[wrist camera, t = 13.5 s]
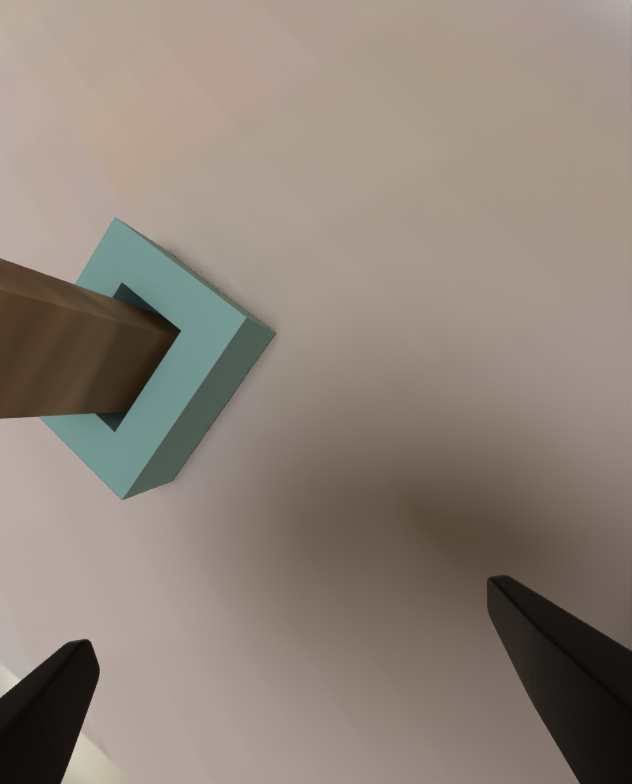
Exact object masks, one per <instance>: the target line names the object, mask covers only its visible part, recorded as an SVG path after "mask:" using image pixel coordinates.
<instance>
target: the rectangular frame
mask: <svg viewBox="0 0 632 784" xmlns="http://www.w3.org/2000/svg"><path fill="white" fill-rule="evenodd" d="M75 285H77V286H80V287H83V288H86V289H89V290H92V291H94V292H97V293H100V294H103V295H106V296H109V297H112V298H114V299H117V300H120V301H123V302H126V303H129V304H132V305H134V306H137V307H140V308H143V309H146V310H149V311H152V312H154V313H157V314H160V315H163V316H164V317H165V318H167V319H168V320H169V321H170V322H171V323H173V324H174V325H175V326H176V327H178V328H179V329H180V330H181V332H180V334H179V335H178V337H177V338H176V340H175V341H174V343H173V344H172V346H171V348H170V349H169V351H168V352H167V354H166V355H165V357H164V358H163V360H162V361H161V363H160V364H159V366H158V367H157V369H156V370H155V372H154V374H153V375H152V377H151V378H150V380H149V381H148V383H147V384H146V386H145V387H144V389H143V390H142V392H141V393H140V395H139V396H138V398H137V399H136V401H135V403H134V404H133V406H132V407H131V409H130V410H129V412H111V413H93V414H75V415H57V416H39V418H40V419H41V420H42V421H43V422H44V423H45V424H46V425H47V426H48V427H49V428H50V429H51V430H52V431H53V432H54V433H55V434H56V435H57V436H58V437H59V438H60V439H61V440H62V441H63V442H64V443H65V444H66V445H67V446H68V447H69V448H70V449H71V450H72V451H73V452H74V453H75V454H76V455H77V456H78V457H79V458H80V459H81V460H82V461H83V462H84V463H85V464H86V465H87V466H88V467H89V468H90V469H91V470H92V471H93V472H94V473H95V474H96V475H97V476H98V477H99V478H100V479H101V480H102V481H103V482H104V483H105V484H106V485H107V486H108V487H109V488H110V489H111V490H112V491H113V492H114V493H115V494H116V495H117V496H118V497H119V498H120V499H121V500H124V499H127V498H129V497H132V496H134V495H137V494H140V493H142V492H145V491H148V490H150V489H153V488H156V487H158V486H161V485H163V484H166V483H169V482H171V481H172V480H173V479H174V478H175V476H176V475H177V473H178V472H179V470H180V469H181V468H182V466H183V465H184V463H185V462H186V460H187V459H188V458H189V456H190V455H191V453H192V452H193V450H194V449H195V448H196V446H197V445H198V443H199V442H200V440H201V439H202V438H203V436H204V435H205V433H206V432H207V430H208V429H209V428H210V426H211V425H212V423H213V422H214V420H215V419H216V418H217V416H218V415H219V413H220V412H221V410H222V409H223V408H224V406H225V405H226V403H227V402H228V400H229V399H230V398H231V396H232V395H233V393H234V392H235V390H236V389H237V388H238V386H239V385H240V383H241V382H242V380H243V379H244V378H245V376H246V375H247V373H248V372H249V370H250V369H251V368H252V366H253V365H254V363H255V362H256V360H257V359H258V358H259V356H260V355H261V353H262V352H263V350H264V349H265V348H266V346H267V345H268V343H269V342H270V340H271V339H272V338H273V336H274V335H275V332H274V331H272V330H271V329H270V328H268V327H267V326H266V325H265V324H263V323H262V322H261V321H259V320H258V319H257V318H255V317H254V316H253V315H251V314H250V313H249V312H247V311H246V310H245V309H243V308H242V307H241V306H239V305H238V304H237V303H236V302H234V301H233V300H232V299H230V298H229V297H228V296H226V295H225V294H224V293H222V292H221V291H220V290H218V289H217V288H216V287H214V286H213V285H212V284H210V283H209V282H208V281H206V280H205V279H204V278H203V277H201V276H200V275H199V274H197V273H196V272H195V271H193V270H192V269H191V268H189V267H188V266H187V265H185V264H184V263H183V262H181V261H180V260H179V259H177V258H176V257H175V256H174V255H172V254H171V253H170V252H168V251H167V250H166V249H164V248H163V247H161V246H159V245H158V244H156V243H155V242H153V241H152V240H150V239H148V238H147V237H145V236H144V235H142V234H141V233H139V232H138V231H136V230H134V229H133V228H131V227H130V226H128V225H127V224H125V223H124V222H122V221H120V220H119V219H117V218H116V217H114V219H113V221H112V223H111V224H110V226H109V228H108V229H107V231H106V233H105V234H104V236H103V238H102V239H101V241H100V243H99V244H98V246H97V248H96V250H95V251H94V253H93V255H92V256H91V258H90V260H89V261H88V263H87V265H86V266H85V268H84V270H83V271H82V273H81V275H80V277H79V278H78V280H77V282H76V283H75Z"/></svg>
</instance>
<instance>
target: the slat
mask: <svg viewBox="0 0 632 784" xmlns="http://www.w3.org/2000/svg"><path fill="white" fill-rule="evenodd" d="M180 332H181V330H180V329H179V328H178V327H176V326H175V325H174V324H173V323H171V322H170V321H169V320H168V319H167V318H165V317H164V316H163V315H160V314H157V313H154V312H152V311H149V310H146V309H143V308H140V307H137V306H134V305H132V304H129V303H126V302H123V301H120V300H117V299H114V298H112V297H109V296H106V295H103V294H100V293H97V292H94V291H92V290H89V289H86V288H83V287H80V286H77V285H74V284H72V283H69V282H66V281H63V280H60V279H57V278H54V277H52V276H49V275H46V274H43V273H40V272H37V271H35V270H32V269H29V268H26V267H23V266H20V265H17V264H15V263H12V262H9V261H6V260H3V259H0V419H2V418H20V417H39V416H57V415H75V414H93V413H111V412H129V410H130V409H131V407H132V406H133V404H134V403H135V401H136V399H137V398H138V396H139V395H140V393H141V392H142V390H143V389H144V387H145V386H146V384H147V383H148V381H149V380H150V378H151V377H152V375H153V374H154V372H155V370H156V369H157V367H158V366H159V364H160V363H161V361H162V360H163V358H164V357H165V355H166V354H167V352H168V351H169V349H170V348H171V346H172V344H173V343H174V341H175V340H176V338H177V337H178V335H179V334H180Z"/></svg>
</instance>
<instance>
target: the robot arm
mask: <svg viewBox="0 0 632 784" xmlns="http://www.w3.org/2000/svg"><path fill="white" fill-rule="evenodd" d="M487 608H488V612H489V615H490V618H491V620H492V622H493V624H494V626H495V628H496V630H497V632H498V634H499V637H500V639H501V641H502V643H503V645H504V647H505V649H506V651H507V653H508V655H509V657H510V659H511V661H512V663H513V665H514V667H515V669H516V672H517V674H518V676H519V678H520V680H521V682H522V684H523V686H524V688H525V690H526V692H527V694H528V696H529V698H530V699H531V701H532V703H533V705H534V706H535V708H536V710H537V712H538V714H539V715H540V717H541V719H542V720H543V722H544V724H545V725H546V727H547V729H548V730H549V732H550V734H551V736H552V737H553V739H554V741H555V742H556V744H557V746H558V747H559V749H560V751H561V752H562V754H563V756H564V758H565V759H566V761H567V763H568V764H569V766H570V768H571V769H572V771H573V773H574V774H575V776H576V778H577V780H578V781H579V783H580V784H632V651H631V650H629V649H628V648H626V647H624V646H623V645H621V644H619V643H618V642H616V641H614V640H613V639H611V638H610V637H608V636H606V635H605V634H603V633H601V632H600V631H598V630H596V629H595V628H593V627H592V626H590V625H588V624H587V623H585V622H583V621H582V620H580V619H578V618H577V617H575V616H574V615H572V614H570V613H569V612H567V611H565V610H564V609H562V608H560V607H559V606H557V605H556V604H554V603H552V602H551V601H549V600H547V599H546V598H544V597H542V596H541V595H539V594H537V593H536V592H534V591H533V590H531V589H529V588H528V587H526V586H524V585H523V584H521V583H519V582H518V581H516V580H515V579H513V578H511V577H510V576H507V575H498V576H491V577H489V578H488V580H487ZM99 674H100V668H99V664H98V661H97V658H96V655H95V652H94V649H93V646H92V643H91V642H90V641H89V640H88V639H82V640H76V641H70V642H68V643H66V644H65V645H63V646H62V647H61V648H60V649H58V650H57V651H56V652H55V653H54V654H52V655H51V656H50V657H49V658H48V659H46V660H45V661H44V662H43V663H42V664H40V665H39V666H38V667H37V668H36V669H34V670H33V671H32V672H31V673H30V674H28V675H27V676H26V677H25V678H24V679H22V680H21V681H20V682H19V683H18V684H17V685H15V686H14V687H13V688H12V689H11V690H9V691H8V692H7V693H6V694H5V695H3V696H2V697H1V698H0V784H61V781H62V779H63V777H64V774H65V772H66V769H67V766H68V764H69V761H70V759H71V756H72V753H73V750H74V747H75V744H76V742H77V738H78V736H79V733H80V730H81V728H82V725H83V722H84V719H85V716H86V714H87V711H88V708H89V705H90V702H91V699H92V697H93V694H94V691H95V688H96V685H97V683H98V679H99Z"/></svg>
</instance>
